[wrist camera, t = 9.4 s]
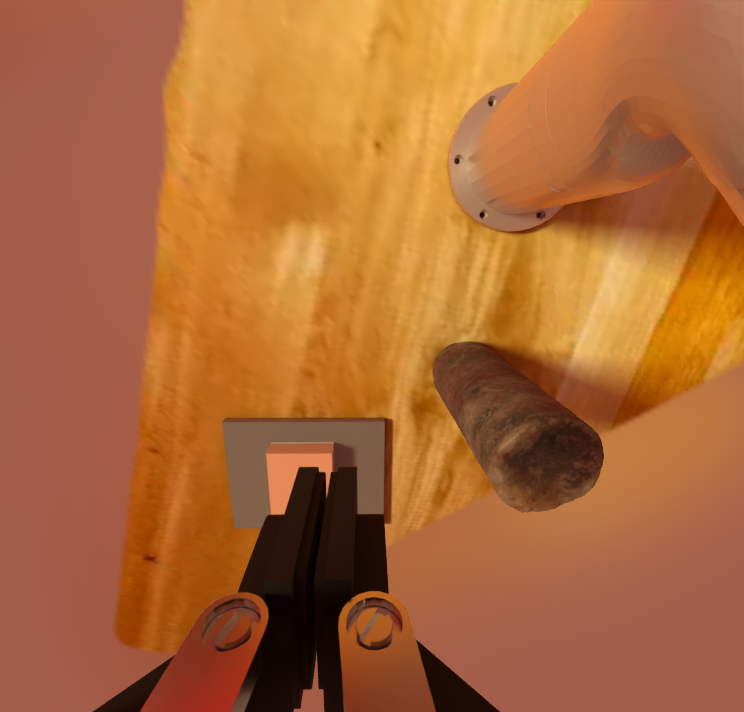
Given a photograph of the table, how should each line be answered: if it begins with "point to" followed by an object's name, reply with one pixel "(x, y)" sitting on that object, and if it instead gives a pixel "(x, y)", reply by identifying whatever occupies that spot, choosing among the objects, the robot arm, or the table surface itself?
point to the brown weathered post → (517, 430)
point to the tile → (294, 467)
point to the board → (254, 436)
